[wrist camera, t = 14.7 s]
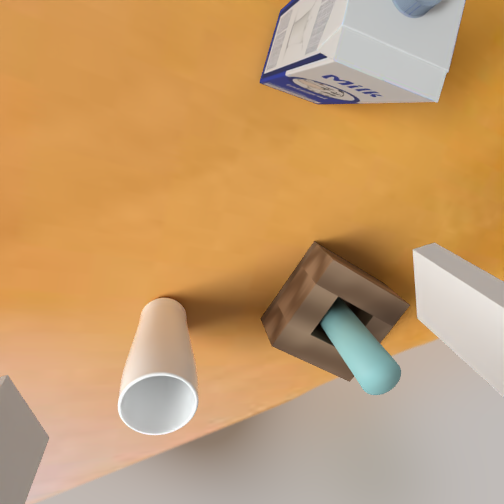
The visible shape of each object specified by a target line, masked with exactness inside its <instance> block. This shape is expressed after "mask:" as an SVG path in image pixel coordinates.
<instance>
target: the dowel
mask: <svg viewBox="0 0 504 504" xmlns="http://www.w3.org/2000/svg"><path fill="white" fill-rule="evenodd" d="M319 324H320V325H321V327H322V328H323V330H324V331H325V333H326V334H327V336H328V337H329V339H330V340H331V342H332V343H333V345H334V346H335V348H336V349H337V351H338V352H339V354H340V355H341V357H342V358H343V360H344V361H345V363H346V364H347V366H348V367H349V369H350V370H351V372H352V373H353V375H354V376H355V378H356V379H357V381H358V382H359V384H360V385H361V387H362V388H363V390H364V391H365V392H367V393H368V394H371V395H380V394H384V393H386V392H388V391H390V390H391V389H392V388H393V387H395V385H396V384H397V383H398V381H399V379H400V376H401V370H400V367H399V365H398V364H397V363H396V362H395V360H394V359H393V358H392V357H391V356H390V355H389V353H388V352H387V351H386V350H385V349H384V348H383V346H382V345H381V344H380V343H379V342H378V341H377V340H376V338H375V337H374V336H373V335H372V334H371V333H370V331H369V330H368V329H367V328H366V327H365V326H364V324H363V323H362V322H361V321H360V320H359V319H358V318H357V316H356V315H355V314H354V313H353V312H352V311H351V309H350V308H349V307H348V306H347V305H346V304H345V303H344V301H343V300H342V299H341V298H340V297H338V298H337V299H336V300H335V302H334V303H333V304H332V306H331V307H330V308H329V310H328V311H327V313H326V314H325V315H324V317H323V318H322V319H321V321H320V322H319Z"/></svg>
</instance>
